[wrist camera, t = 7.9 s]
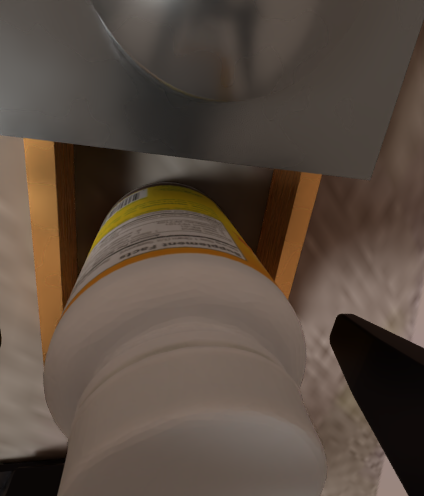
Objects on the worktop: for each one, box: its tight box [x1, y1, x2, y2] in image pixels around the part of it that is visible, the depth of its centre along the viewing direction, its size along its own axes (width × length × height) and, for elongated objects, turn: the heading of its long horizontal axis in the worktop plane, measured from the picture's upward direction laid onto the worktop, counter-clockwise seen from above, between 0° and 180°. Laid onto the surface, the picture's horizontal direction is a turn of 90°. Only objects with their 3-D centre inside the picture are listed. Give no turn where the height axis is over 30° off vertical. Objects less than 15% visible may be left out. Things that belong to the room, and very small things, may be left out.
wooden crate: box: [0, 0, 424, 364], centre depth 10 cm, size 18×12×6 cm
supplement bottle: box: [43, 182, 327, 496], centre depth 9 cm, size 6×6×10 cm
